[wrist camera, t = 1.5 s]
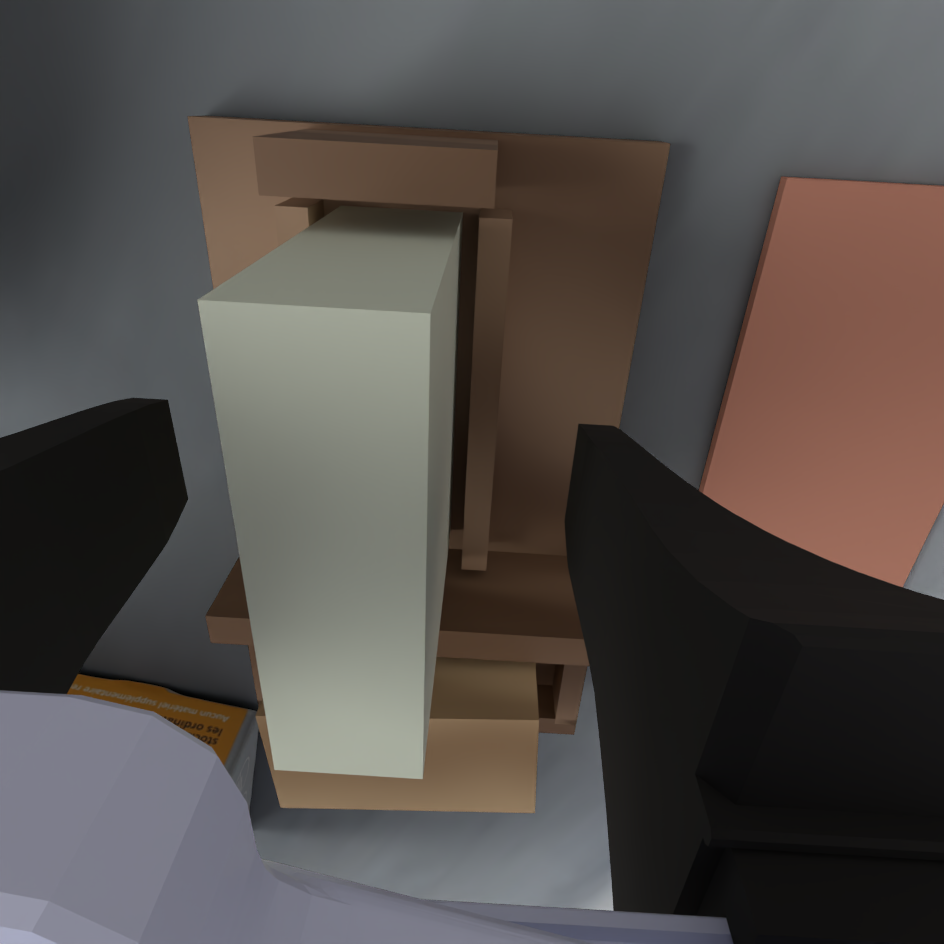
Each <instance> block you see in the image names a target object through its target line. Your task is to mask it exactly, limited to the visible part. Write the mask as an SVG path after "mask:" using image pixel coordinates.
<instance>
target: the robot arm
mask: <svg viewBox="0 0 944 944" xmlns="http://www.w3.org/2000/svg"><path fill="white" fill-rule="evenodd" d="M187 500H188V496H187V491H186V487H185V482H184V477H183V472H182V467H181V462H180V457H179V452H178V447H177V443H176V438H175V433H174V428H173V423H172V418H171V413H170V408H169V403H168V400H161V399H144V398H130V399H124V400H119V401H114V402H110V403H107V404H103V405H100V406H96V407H93V408H90V409H86V410H83V411H80V412H77V413H74V414H71V415H68V416H65V417H62V418H59V419H56V420H53V421H50V422H47V423H44V424H41V425H38V426H35V427H32V428H29V429H27V430H24V431H21V432H18V433H15V434H11V435H8V436H5V437H2V438H0V944H944V600H942V599H939V598H935V597H932V596H928V595H925V594H921V593H918V592H915V591H912V590H909V589H905V588H903V587H900V586H897V585H894V584H891V583H888V582H885V581H883V580H880V579H877V578H874V577H871V576H868V575H866V574H863V573H860V572H857V571H855V570H852V569H850V568H847V567H845V566H842V565H840V564H837V563H834V562H832V561H829V560H827V559H825V558H822V557H820V556H818V555H816V554H814V553H811V552H809V551H807V550H805V549H802V548H800V547H798V546H796V545H793V544H791V543H789V542H787V541H785V540H783V539H781V538H779V537H777V536H775V535H773V534H771V533H769V532H767V531H765V530H763V529H761V528H759V527H758V526H756V525H754V524H752V523H750V522H749V521H747V520H745V519H743V518H741V517H740V516H738V515H736V514H734V513H732V512H731V511H729V510H728V509H726V508H724V507H723V506H721V505H719V504H718V503H716V502H715V501H713V500H712V499H710V498H709V497H707V496H706V495H705V494H703V493H702V492H700V491H699V490H697V489H696V488H694V487H693V486H691V485H690V484H689V483H687V482H686V481H684V480H683V479H682V478H680V477H679V476H678V475H676V474H675V473H674V472H672V471H671V470H670V469H669V468H667V467H666V466H665V465H663V464H662V463H661V462H660V461H658V460H657V459H656V458H655V457H653V456H652V455H651V454H650V453H648V452H647V451H646V450H645V449H644V448H642V447H641V446H640V445H639V444H637V443H636V442H635V441H634V440H633V439H631V438H630V437H629V436H628V435H626V434H625V433H624V432H622V431H621V430H620V429H618V428H617V427H615V426H611V425H594V424H578V431H577V437H576V444H575V451H574V458H573V465H572V472H571V479H570V486H569V492H568V499H567V506H566V513H565V520H564V523H565V538H566V551H567V563H568V570H569V575H570V579H571V584H572V589H573V593H574V598H575V602H576V607H577V611H578V616H579V620H580V625H581V629H582V634H583V638H584V643H585V647H586V651H587V656H588V660H589V665H590V669H591V675H592V681H593V687H594V692H595V701H596V710H597V720H598V729H599V738H600V748H601V758H602V769H603V780H604V790H605V801H606V813H607V826H608V839H609V851H610V864H611V877H612V892H613V908H614V911H606V910H590V909H573V908H557V907H540V906H524V905H507V904H490V903H474V902H457V901H441V900H424V899H418V898H414V897H410V896H406V895H402V894H398V893H394V892H391V891H387V890H383V889H379V888H375V887H371V886H367V885H363V884H359V883H355V882H352V881H348V880H344V879H340V878H336V877H332V876H328V875H324V874H320V873H316V872H312V871H309V870H305V869H301V868H297V867H293V866H289V865H285V864H281V863H277V862H273V861H268V860H264V859H261V857H260V855H259V853H258V850H257V847H256V843H255V838H254V833H253V828H252V823H251V819H250V814H249V809H248V804H247V802H246V800H245V799H244V797H243V795H242V794H241V792H240V791H239V789H238V787H237V786H236V784H235V783H234V781H233V780H232V778H231V776H230V775H229V773H228V772H227V770H226V768H225V767H224V765H223V764H222V762H221V761H220V759H219V757H218V756H217V754H216V753H215V751H214V750H213V748H212V747H210V746H209V745H207V744H206V743H204V742H202V741H201V740H199V739H197V738H196V737H194V736H193V735H191V734H189V733H188V732H186V731H184V730H183V729H181V728H180V727H178V726H176V725H175V724H173V723H172V722H170V721H168V720H167V719H165V718H163V717H162V716H160V715H159V714H157V713H155V712H153V711H148V710H144V709H140V708H135V707H131V706H127V705H122V704H118V703H114V702H109V701H105V700H100V699H96V698H92V697H87V696H83V695H70V694H67V693H68V691H69V689H70V687H71V686H72V684H73V682H74V680H75V678H76V677H77V675H78V673H79V671H80V669H81V667H82V666H83V664H84V662H85V661H86V659H87V658H88V656H89V654H90V653H91V651H92V650H93V648H94V647H95V645H96V644H97V642H98V640H99V639H100V638H101V636H102V635H103V633H104V632H105V631H106V629H107V628H108V626H109V625H110V624H111V622H112V621H113V619H114V618H115V616H116V615H117V614H118V612H119V611H120V609H121V608H122V607H123V605H124V604H125V602H126V601H127V600H128V598H129V597H130V595H131V594H132V593H133V591H134V590H135V588H136V587H137V586H138V584H139V583H140V581H141V580H142V579H143V577H144V576H145V574H146V573H147V571H148V570H149V568H150V567H151V566H152V564H153V563H154V561H155V560H156V558H157V557H158V556H159V554H160V553H161V551H162V550H163V548H164V547H165V545H166V544H167V542H168V540H169V538H170V536H171V534H172V532H173V530H174V528H175V526H176V524H177V522H178V520H179V518H180V516H181V513H182V511H183V509H184V507H185V504H186V502H187Z"/></svg>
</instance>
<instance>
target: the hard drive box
mask: <svg viewBox="0 0 944 944" xmlns="http://www.w3.org/2000/svg"><path fill="white" fill-rule="evenodd" d="M67 694H70V695H83V696H87V697H92V698H96V699H100V700H105V701H109V702H114V703H118V704H122V705H127V706H131V707H135V708H140V709H144V710H148V711H153V712H155V713H157V714H159V715H160V716H162V717H163V718H165V719H167V720H168V721H170V722H172V723H173V724H175V725H176V726H178V727H180V728H181V729H183V730H184V731H186V732H188V733H189V734H191V735H193V736H194V737H196V738H197V739H199V740H201V741H202V742H204V743H206V744H207V745H209V746H210V747H212V748H213V750H214V751H215V753H216V754H217V756H218V757H219V759H220V761H221V762H222V764H223V765H224V767H225V768H226V770H227V772H228V773H229V775H230V776H231V778H232V780H233V781H234V783H235V784H236V786H237V787H238V789H239V791H240V792H241V794H242V795H243V797H244V799H245V800H246V802H247V804H248V809H250V802H251V794H252V784H253V774H254V766H255V758H256V748H257V739H258V729H259V728H258V724H257V720H256V717H255V715H256V713H257V712H256V711H254V710H250V709H245V708H241V707H236V706H231V705H226V704H221V703H216V702H212V701H207V700H202V699H198V698H193V697H188V696H184V695H181V694H178V693H176V692H174V691H172V690H170V689H167V688H164V687H160V686H156V685H151V684H146V683H139V682H134V681H129V680H110V679H104V678H98V677H92V676H87V675H82V674H78V675H77V677H76V678H75V680H74V682H73V684H72V686H71V687H70V689H69V691H68V693H67Z"/></svg>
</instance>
